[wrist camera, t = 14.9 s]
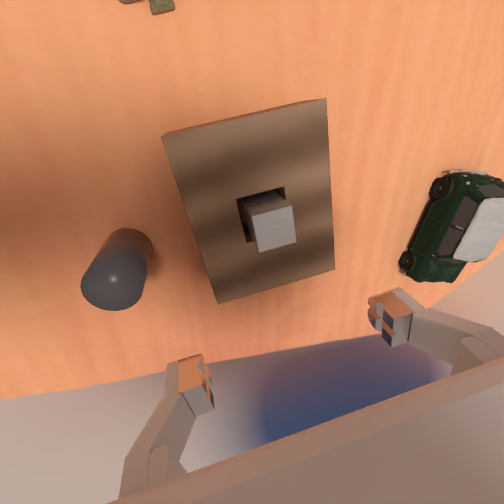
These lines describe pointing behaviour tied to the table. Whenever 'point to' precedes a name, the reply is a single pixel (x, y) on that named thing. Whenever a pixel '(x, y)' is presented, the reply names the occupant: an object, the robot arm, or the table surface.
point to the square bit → (268, 219)
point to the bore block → (255, 181)
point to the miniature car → (457, 226)
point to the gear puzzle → (156, 5)
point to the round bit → (118, 271)
